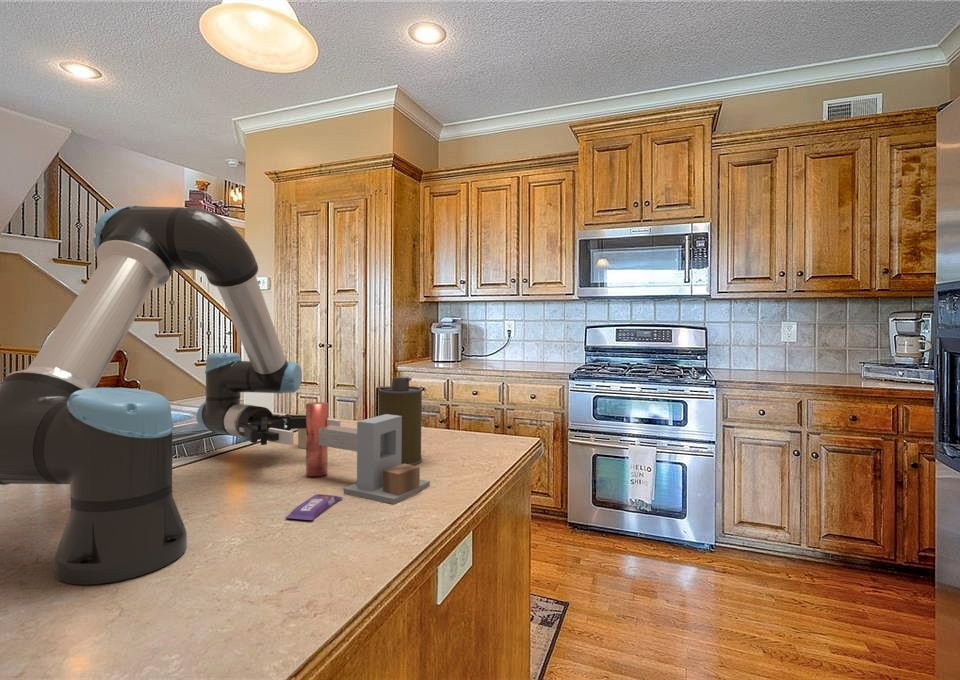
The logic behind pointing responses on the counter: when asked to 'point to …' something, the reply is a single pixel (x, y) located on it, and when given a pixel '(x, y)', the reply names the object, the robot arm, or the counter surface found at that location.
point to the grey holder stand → (378, 458)
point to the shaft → (326, 438)
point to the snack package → (313, 507)
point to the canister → (404, 414)
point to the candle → (302, 433)
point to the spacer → (401, 479)
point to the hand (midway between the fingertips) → (316, 432)
